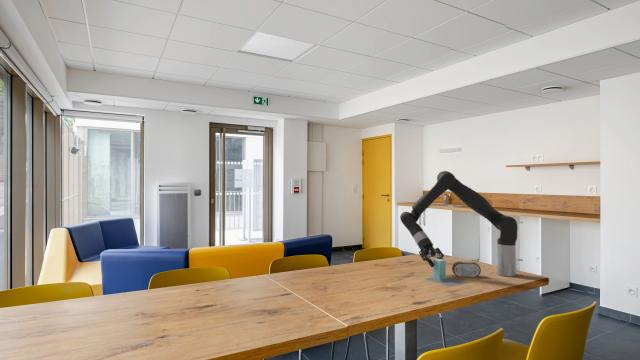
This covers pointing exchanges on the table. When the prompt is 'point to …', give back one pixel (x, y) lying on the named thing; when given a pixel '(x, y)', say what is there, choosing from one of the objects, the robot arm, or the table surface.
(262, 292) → the table surface
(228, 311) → the table surface
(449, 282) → the mat
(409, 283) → the table surface
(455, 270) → the tin
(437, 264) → the block
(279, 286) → the table surface
